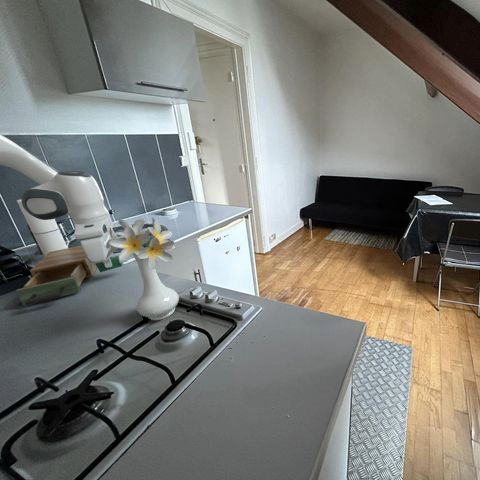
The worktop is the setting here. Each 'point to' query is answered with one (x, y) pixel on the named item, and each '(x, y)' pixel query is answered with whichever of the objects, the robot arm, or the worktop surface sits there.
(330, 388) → the worktop surface
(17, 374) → the worktop surface
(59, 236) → the cylindrical container
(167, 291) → the flower vase
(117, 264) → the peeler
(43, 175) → the robot arm
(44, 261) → the cabinet
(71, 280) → the drawer
